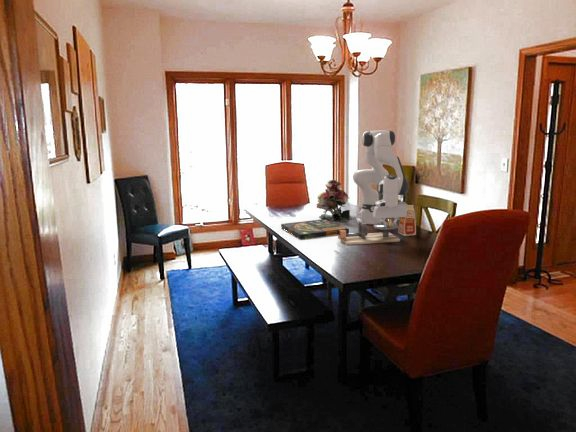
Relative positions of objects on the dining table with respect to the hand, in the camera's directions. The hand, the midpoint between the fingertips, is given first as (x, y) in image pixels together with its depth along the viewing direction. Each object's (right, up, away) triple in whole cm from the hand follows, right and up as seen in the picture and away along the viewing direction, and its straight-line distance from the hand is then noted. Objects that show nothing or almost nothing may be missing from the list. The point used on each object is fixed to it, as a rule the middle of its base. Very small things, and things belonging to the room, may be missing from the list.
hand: (389, 224), depth 264 cm
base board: (-12, -9, +8) cm, 17 cm away
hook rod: (-21, -8, +6) cm, 24 cm away
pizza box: (-44, -5, +35) cm, 57 cm away
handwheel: (-1, -1, +7) cm, 7 cm away
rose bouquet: (-27, +3, +72) cm, 77 cm away
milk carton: (+16, -6, +20) cm, 26 cm away
